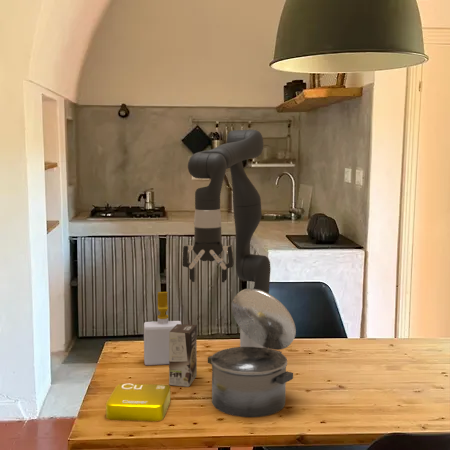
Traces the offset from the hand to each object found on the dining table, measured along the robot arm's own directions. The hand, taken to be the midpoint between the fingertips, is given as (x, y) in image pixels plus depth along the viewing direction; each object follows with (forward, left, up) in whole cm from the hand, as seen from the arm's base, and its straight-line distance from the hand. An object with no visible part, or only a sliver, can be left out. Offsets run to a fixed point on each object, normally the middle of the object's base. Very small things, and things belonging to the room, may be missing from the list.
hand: (208, 281), depth 171 cm
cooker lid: (-5, +15, -10) cm, 19 cm away
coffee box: (+1, -9, -31) cm, 33 cm away
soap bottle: (-7, -25, -31) cm, 41 cm away
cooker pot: (+1, +15, -31) cm, 35 cm away
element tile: (+23, -5, -32) cm, 39 cm away
